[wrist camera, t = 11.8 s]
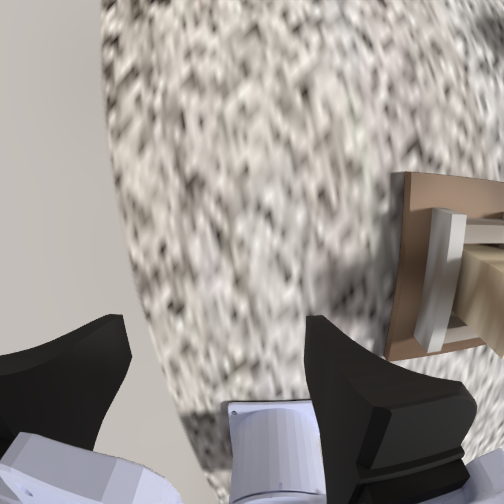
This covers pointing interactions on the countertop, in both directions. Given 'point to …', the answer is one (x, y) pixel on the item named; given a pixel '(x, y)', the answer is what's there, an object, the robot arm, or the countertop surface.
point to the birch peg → (482, 293)
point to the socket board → (439, 260)
